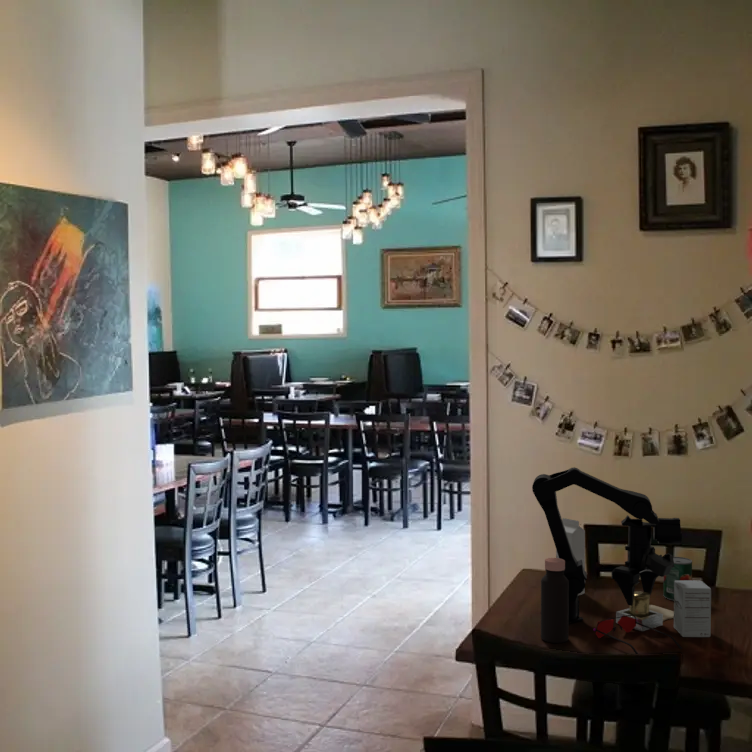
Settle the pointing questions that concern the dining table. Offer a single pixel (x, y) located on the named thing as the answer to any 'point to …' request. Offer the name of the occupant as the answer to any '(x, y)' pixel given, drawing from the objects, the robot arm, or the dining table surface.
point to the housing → (643, 619)
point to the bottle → (554, 602)
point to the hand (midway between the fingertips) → (638, 601)
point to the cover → (640, 604)
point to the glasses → (624, 623)
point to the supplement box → (692, 608)
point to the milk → (575, 541)
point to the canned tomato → (677, 575)
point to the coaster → (662, 612)
